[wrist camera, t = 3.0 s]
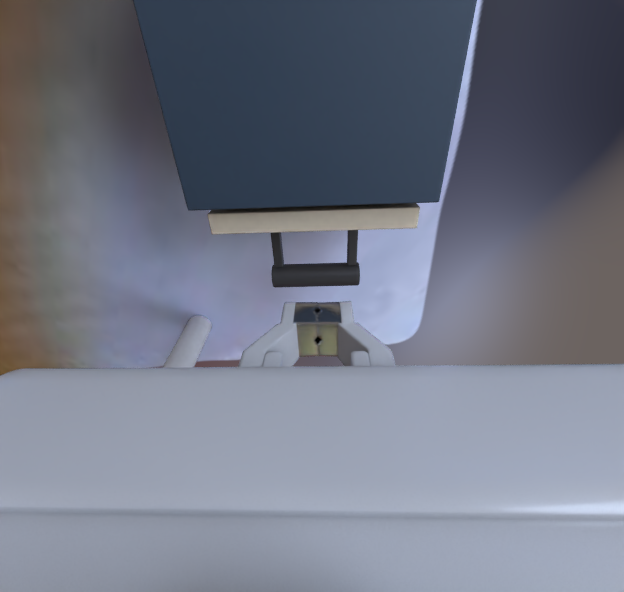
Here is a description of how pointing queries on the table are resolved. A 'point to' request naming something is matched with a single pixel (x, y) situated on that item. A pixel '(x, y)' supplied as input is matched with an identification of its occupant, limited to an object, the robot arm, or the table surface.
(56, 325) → the table surface
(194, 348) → the marker
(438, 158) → the cabinet
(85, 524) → the robot arm
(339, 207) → the drawer
